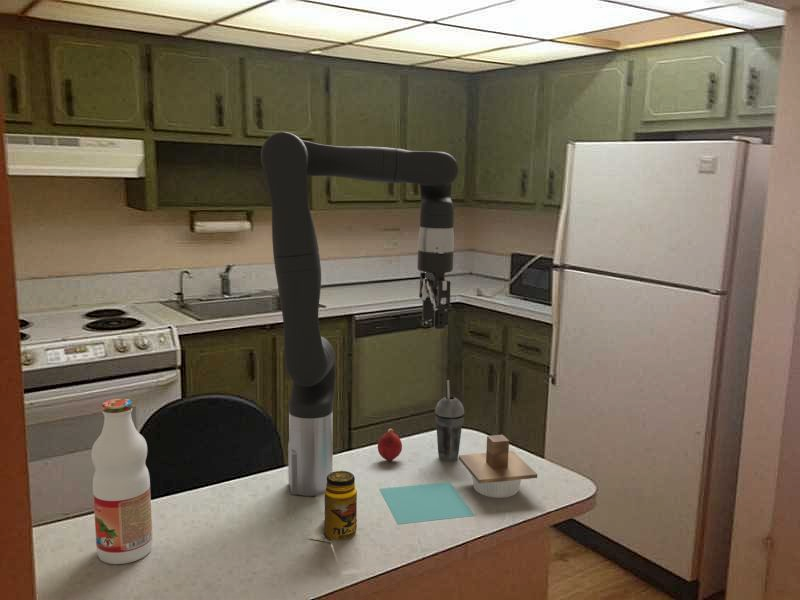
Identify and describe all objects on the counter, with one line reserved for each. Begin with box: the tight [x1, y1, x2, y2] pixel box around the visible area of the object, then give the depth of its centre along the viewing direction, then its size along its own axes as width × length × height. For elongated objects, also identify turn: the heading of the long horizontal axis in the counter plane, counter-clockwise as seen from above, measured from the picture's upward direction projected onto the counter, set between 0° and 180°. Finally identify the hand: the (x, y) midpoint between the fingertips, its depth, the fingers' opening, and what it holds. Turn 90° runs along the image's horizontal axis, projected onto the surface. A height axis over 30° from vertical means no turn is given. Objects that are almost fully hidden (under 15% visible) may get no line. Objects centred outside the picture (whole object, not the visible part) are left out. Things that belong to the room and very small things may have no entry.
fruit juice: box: [91, 398, 154, 565], centre depth 126 cm, size 9×9×28 cm
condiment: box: [308, 470, 358, 544], centre depth 135 cm, size 7×8×12 cm
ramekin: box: [471, 475, 522, 499], centre depth 156 cm, size 11×11×5 cm
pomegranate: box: [377, 428, 403, 462], centre depth 170 cm, size 6×6×8 cm
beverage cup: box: [434, 379, 466, 462], centre depth 170 cm, size 7×7×20 cm
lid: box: [458, 434, 538, 484], centre depth 155 cm, size 13×13×7 cm
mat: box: [378, 481, 476, 525], centre depth 149 cm, size 16×16×1 cm
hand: (433, 323), depth 154 cm, fingers open, 8 cm apart
